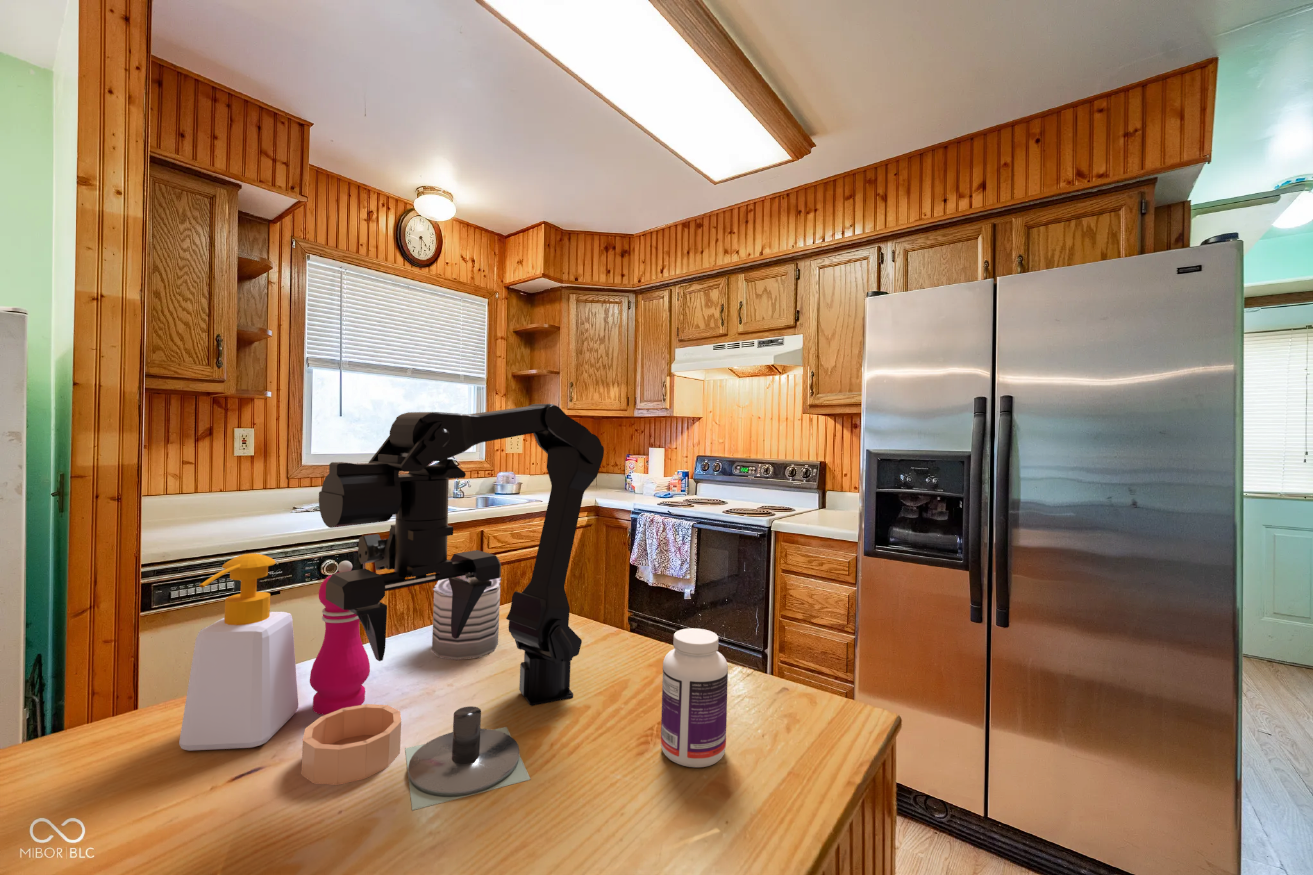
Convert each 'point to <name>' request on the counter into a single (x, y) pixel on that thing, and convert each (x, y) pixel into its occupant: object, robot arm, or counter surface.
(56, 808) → the counter surface
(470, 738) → the lid
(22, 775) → the counter surface
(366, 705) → the bowl
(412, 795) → the mat
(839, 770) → the counter surface
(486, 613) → the can
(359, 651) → the pepper mill
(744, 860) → the counter surface
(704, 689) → the pill bottle
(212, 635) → the soap bottle
